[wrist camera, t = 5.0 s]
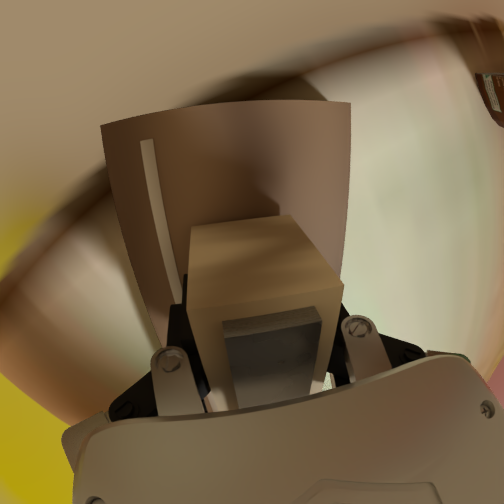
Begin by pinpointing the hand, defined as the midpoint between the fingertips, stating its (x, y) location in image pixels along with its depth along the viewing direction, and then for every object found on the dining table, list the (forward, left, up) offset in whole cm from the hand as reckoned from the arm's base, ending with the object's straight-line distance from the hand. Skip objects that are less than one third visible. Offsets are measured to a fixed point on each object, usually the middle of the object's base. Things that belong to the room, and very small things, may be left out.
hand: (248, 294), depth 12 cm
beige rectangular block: (0, 0, 0) cm, 0 cm away
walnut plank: (0, +7, -3) cm, 7 cm away
